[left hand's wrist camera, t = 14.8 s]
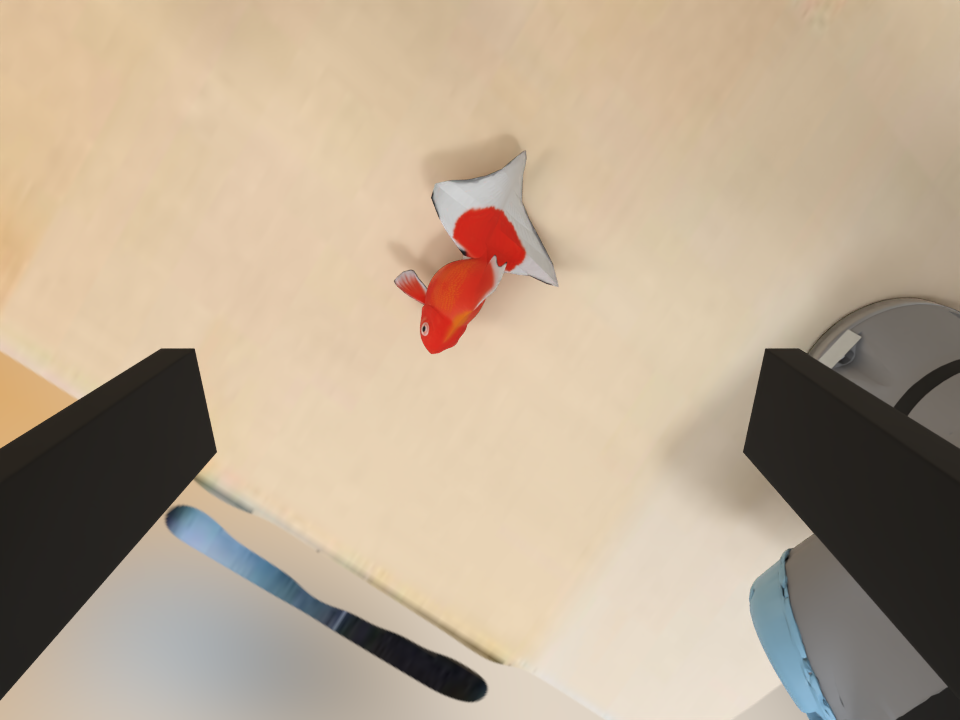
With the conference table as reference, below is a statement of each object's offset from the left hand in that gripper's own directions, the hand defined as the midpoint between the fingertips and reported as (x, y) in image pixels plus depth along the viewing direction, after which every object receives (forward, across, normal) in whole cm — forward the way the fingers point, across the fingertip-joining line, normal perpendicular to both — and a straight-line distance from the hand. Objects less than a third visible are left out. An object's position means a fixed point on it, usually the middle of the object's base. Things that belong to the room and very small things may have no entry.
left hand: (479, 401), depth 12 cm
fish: (+32, 0, +2) cm, 32 cm away
